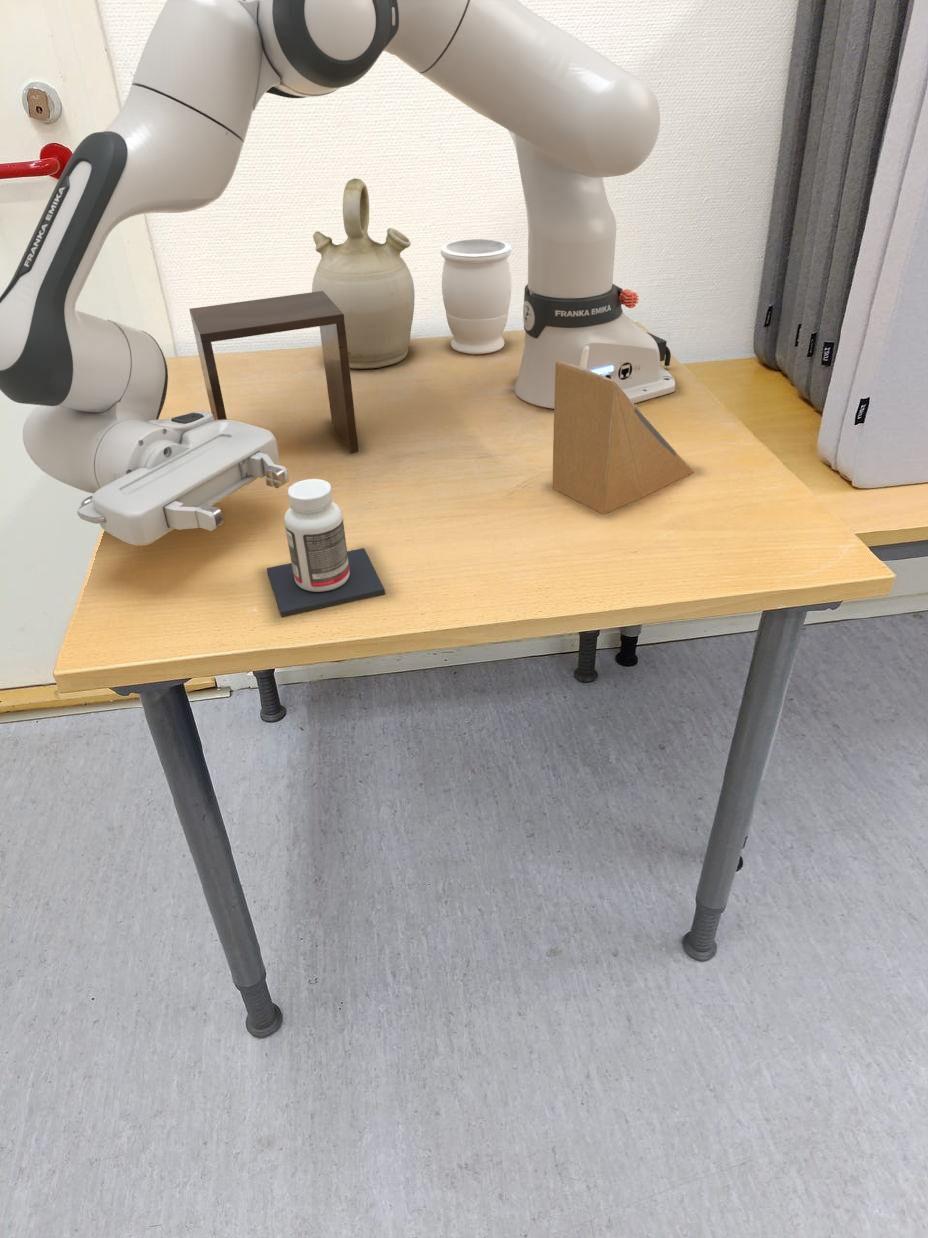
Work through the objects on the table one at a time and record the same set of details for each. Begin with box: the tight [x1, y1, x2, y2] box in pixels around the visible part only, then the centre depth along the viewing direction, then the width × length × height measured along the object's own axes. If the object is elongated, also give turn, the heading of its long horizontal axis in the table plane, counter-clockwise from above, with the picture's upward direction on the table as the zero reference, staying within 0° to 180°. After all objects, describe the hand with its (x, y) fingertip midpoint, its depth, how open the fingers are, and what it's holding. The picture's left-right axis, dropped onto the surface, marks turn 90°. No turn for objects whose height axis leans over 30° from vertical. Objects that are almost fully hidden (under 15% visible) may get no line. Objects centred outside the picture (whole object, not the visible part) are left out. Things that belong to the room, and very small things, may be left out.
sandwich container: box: [552, 360, 695, 515], centre depth 95 cm, size 9×15×15 cm, turn 129°
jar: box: [440, 238, 512, 355], centre depth 133 cm, size 11×10×15 cm
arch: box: [188, 291, 360, 454], centre depth 104 cm, size 10×16×17 cm, turn 111°
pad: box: [266, 547, 386, 618], centre depth 84 cm, size 10×8×1 cm
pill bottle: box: [283, 478, 350, 592], centre depth 81 cm, size 5×5×10 cm
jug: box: [311, 177, 415, 370], centre depth 128 cm, size 15×16×25 cm
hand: (251, 498), depth 83 cm, fingers open, 8 cm apart
